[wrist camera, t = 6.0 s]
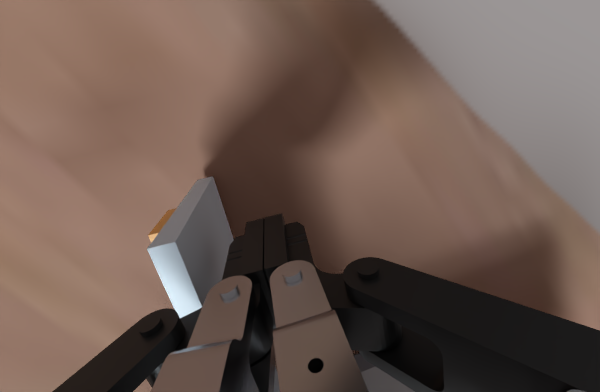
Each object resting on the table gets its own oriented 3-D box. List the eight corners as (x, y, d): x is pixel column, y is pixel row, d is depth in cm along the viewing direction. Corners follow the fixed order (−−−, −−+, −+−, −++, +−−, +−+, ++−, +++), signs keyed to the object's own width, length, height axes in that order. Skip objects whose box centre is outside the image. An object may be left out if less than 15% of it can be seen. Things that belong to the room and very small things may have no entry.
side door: (282, 388, 20) (293, 528, 14) (257, 395, 20) (256, 540, 14) (212, 176, 15) (175, 241, 8) (177, 184, 15) (111, 257, 8)
